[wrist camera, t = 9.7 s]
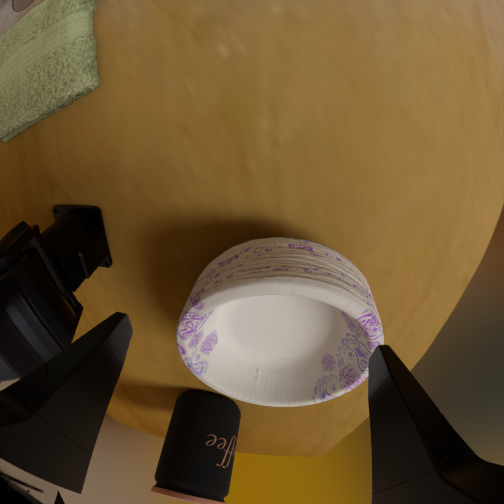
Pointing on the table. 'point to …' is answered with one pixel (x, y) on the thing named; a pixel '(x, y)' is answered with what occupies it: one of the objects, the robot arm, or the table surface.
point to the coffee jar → (199, 449)
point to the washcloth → (46, 63)
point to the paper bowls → (280, 323)
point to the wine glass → (20, 4)
